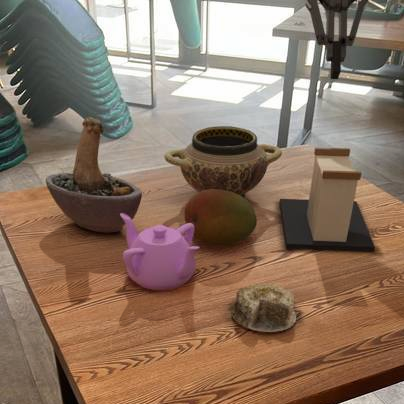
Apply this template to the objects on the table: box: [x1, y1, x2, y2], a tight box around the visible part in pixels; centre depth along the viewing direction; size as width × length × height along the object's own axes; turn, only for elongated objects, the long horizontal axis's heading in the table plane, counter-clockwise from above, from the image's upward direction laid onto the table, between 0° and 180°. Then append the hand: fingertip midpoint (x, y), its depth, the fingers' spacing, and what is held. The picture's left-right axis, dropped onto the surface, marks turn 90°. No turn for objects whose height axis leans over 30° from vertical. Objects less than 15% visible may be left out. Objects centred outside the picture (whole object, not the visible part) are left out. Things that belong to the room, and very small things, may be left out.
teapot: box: [120, 213, 201, 291], centre depth 94 cm, size 12×14×9 cm
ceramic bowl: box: [163, 125, 283, 199], centre depth 117 cm, size 24×18×15 cm
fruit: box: [184, 189, 258, 247], centre depth 103 cm, size 12×13×10 cm
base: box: [278, 167, 376, 253], centre depth 108 cm, size 16×20×14 cm
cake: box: [231, 283, 297, 333], centre depth 86 cm, size 10×10×5 cm
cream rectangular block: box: [307, 147, 354, 228], centre depth 107 cm, size 6×6×13 cm
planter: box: [45, 116, 143, 234], centre depth 104 cm, size 15×17×20 cm
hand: (335, 75), depth 116 cm, fingers closed
